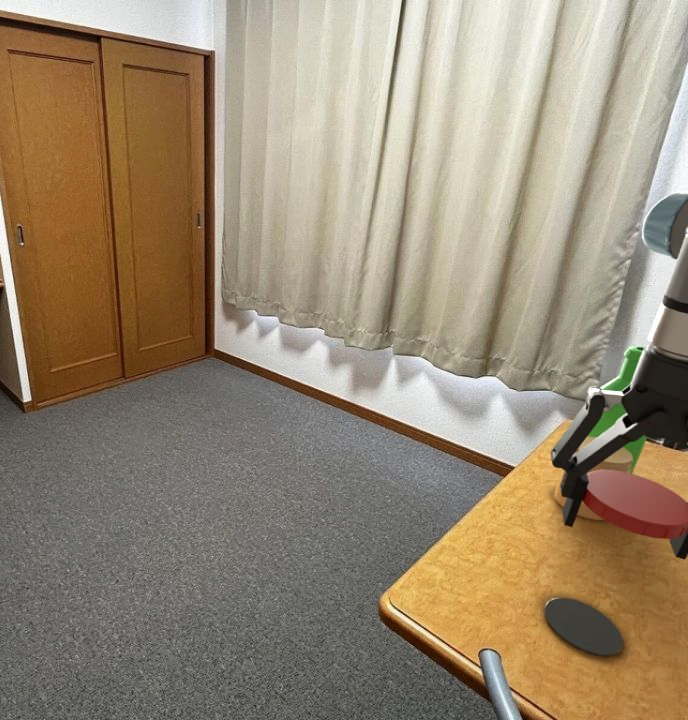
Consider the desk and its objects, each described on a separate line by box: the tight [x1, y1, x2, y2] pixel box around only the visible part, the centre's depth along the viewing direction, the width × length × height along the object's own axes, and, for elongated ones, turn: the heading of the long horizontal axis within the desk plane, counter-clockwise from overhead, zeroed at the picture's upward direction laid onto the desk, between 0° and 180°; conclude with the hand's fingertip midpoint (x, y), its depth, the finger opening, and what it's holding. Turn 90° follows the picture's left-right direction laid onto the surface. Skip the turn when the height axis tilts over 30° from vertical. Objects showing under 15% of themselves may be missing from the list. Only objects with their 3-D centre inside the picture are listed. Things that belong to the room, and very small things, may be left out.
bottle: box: [587, 345, 648, 474], centre depth 85 cm, size 9×9×25 cm
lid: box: [582, 470, 688, 540], centre depth 52 cm, size 9×9×2 cm
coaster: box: [543, 597, 624, 657], centre depth 60 cm, size 8×8×1 cm
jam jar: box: [553, 437, 633, 521], centre depth 79 cm, size 8×8×12 cm
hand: (619, 534), depth 54 cm, fingers closed on lid, 9 cm apart
